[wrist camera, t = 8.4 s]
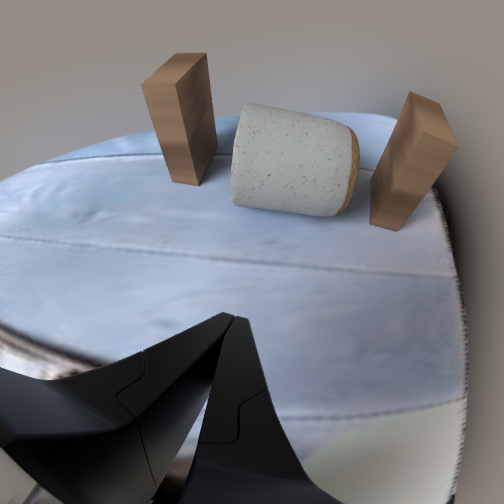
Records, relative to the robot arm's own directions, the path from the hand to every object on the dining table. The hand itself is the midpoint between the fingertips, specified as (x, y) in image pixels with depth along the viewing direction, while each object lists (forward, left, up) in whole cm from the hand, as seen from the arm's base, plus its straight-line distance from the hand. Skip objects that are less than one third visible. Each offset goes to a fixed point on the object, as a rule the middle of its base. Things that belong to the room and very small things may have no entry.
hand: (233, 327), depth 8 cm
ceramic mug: (+13, -6, -10) cm, 17 cm away
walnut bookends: (+13, -6, -9) cm, 17 cm away
